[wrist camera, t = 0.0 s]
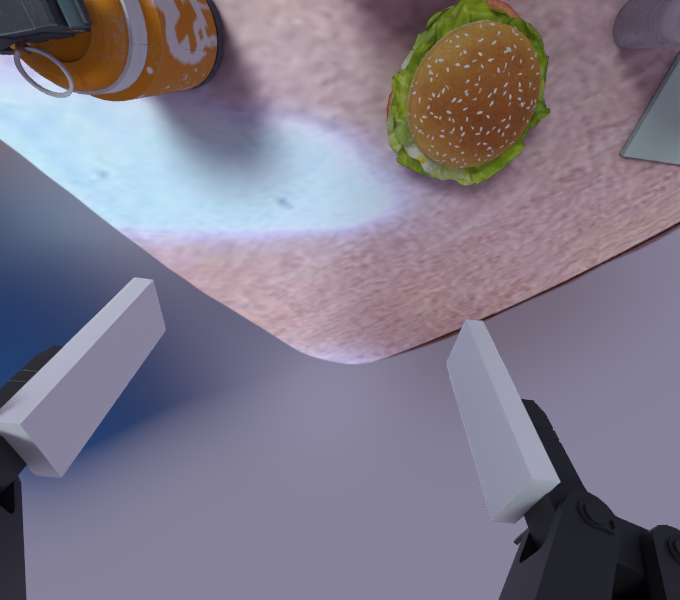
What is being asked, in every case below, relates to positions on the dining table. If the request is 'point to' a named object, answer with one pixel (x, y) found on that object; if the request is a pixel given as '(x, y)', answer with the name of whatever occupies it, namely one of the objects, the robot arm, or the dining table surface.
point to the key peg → (648, 24)
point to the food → (468, 92)
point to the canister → (114, 44)
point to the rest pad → (659, 124)
